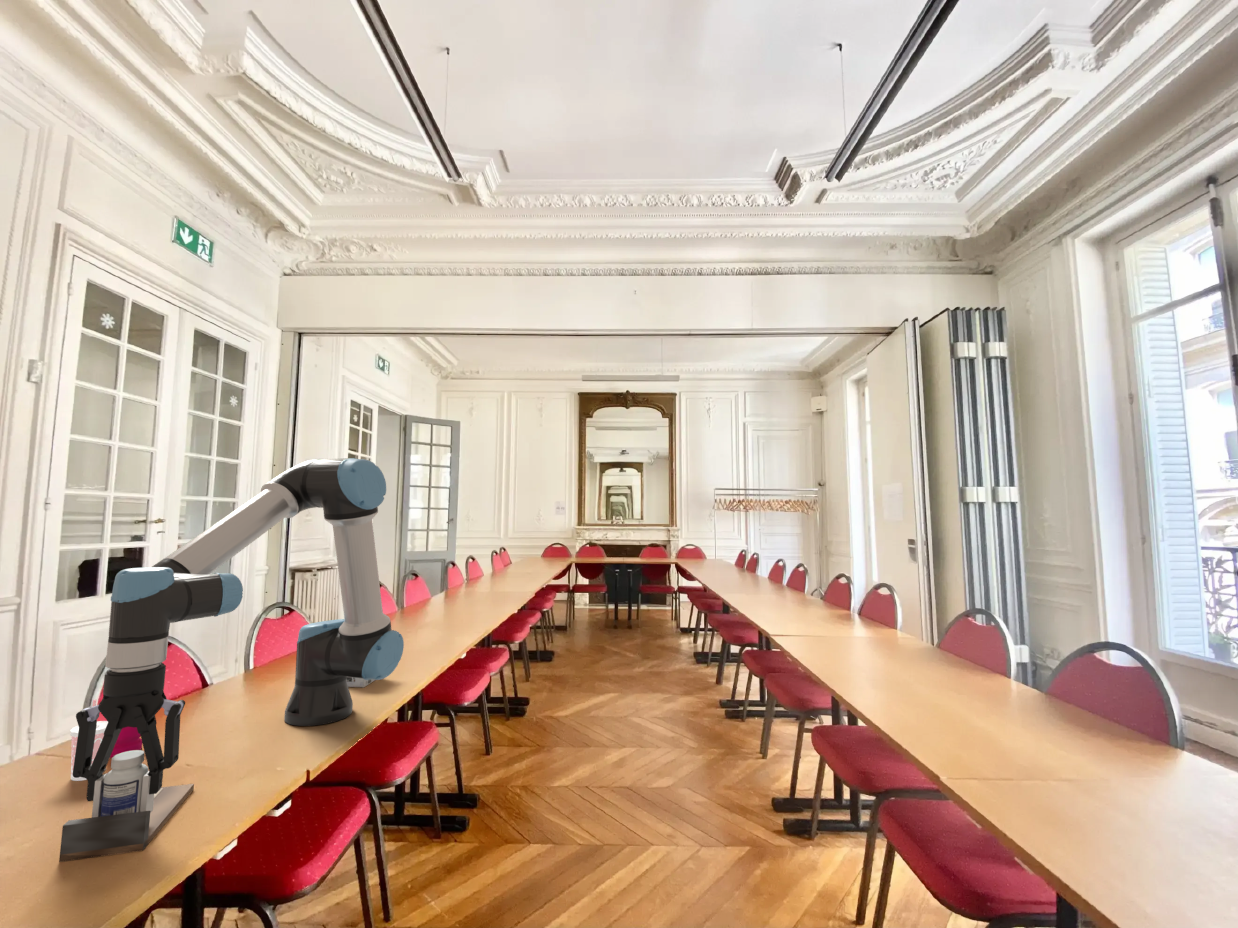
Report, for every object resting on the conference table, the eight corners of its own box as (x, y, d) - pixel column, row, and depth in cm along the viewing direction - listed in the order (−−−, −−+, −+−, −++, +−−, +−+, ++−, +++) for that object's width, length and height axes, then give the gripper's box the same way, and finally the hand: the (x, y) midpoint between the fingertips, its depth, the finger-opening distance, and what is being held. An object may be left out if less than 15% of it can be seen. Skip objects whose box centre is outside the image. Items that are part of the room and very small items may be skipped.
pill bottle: (121, 810, 93) (126, 747, 93) (153, 811, 92) (158, 748, 93) (89, 828, 87) (95, 761, 88) (123, 829, 87) (129, 762, 88)
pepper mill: (118, 760, 116) (127, 659, 118) (89, 757, 117) (99, 656, 119) (153, 746, 123) (162, 651, 125) (126, 743, 124) (135, 649, 126)
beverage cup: (58, 785, 106) (66, 706, 107) (74, 771, 111) (81, 696, 112) (101, 779, 108) (108, 702, 109) (114, 766, 114) (120, 693, 115)
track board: (193, 789, 105) (195, 760, 105) (142, 850, 86) (146, 815, 86) (126, 796, 102) (129, 767, 102) (59, 862, 83) (62, 825, 83)
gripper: (211, 656, 98) (200, 798, 96) (78, 663, 93) (63, 814, 91) (195, 668, 91) (182, 821, 89) (49, 676, 85) (32, 840, 83)
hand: (122, 817), depth 90 cm, fingers closed on pill bottle, 5 cm apart
